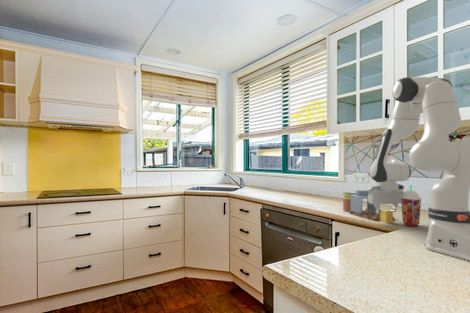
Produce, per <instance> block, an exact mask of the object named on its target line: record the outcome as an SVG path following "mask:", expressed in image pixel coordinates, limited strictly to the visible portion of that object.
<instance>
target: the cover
mask: <svg viewBox="0 0 470 313" xmlns="http://www.w3.org/2000/svg"><path fill="white" fill-rule="evenodd" d="M355 191H356V195H351V211H353V212H357V213H361V214H362V211H363V200H364V199H366V201H367V202H366V209H369V211H373V212H376V208H375V206H374V204H369V203H368V195H369V189H368V190H367V189H366V190H365V189H364V190H360V189H359V190H358V189H357V190H355ZM380 206H381V204H379V206H378V207H379V209H380Z"/></svg>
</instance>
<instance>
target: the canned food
mask: <svg viewBox="0 0 470 313" xmlns="http://www.w3.org/2000/svg"><path fill="white" fill-rule="evenodd" d="M342 194H343V196H342V199H343V200H342V203H343V204H342V210H343V212H346V213H350V211H351V195H356V190H346V191H345V190H343V191H342Z"/></svg>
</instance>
